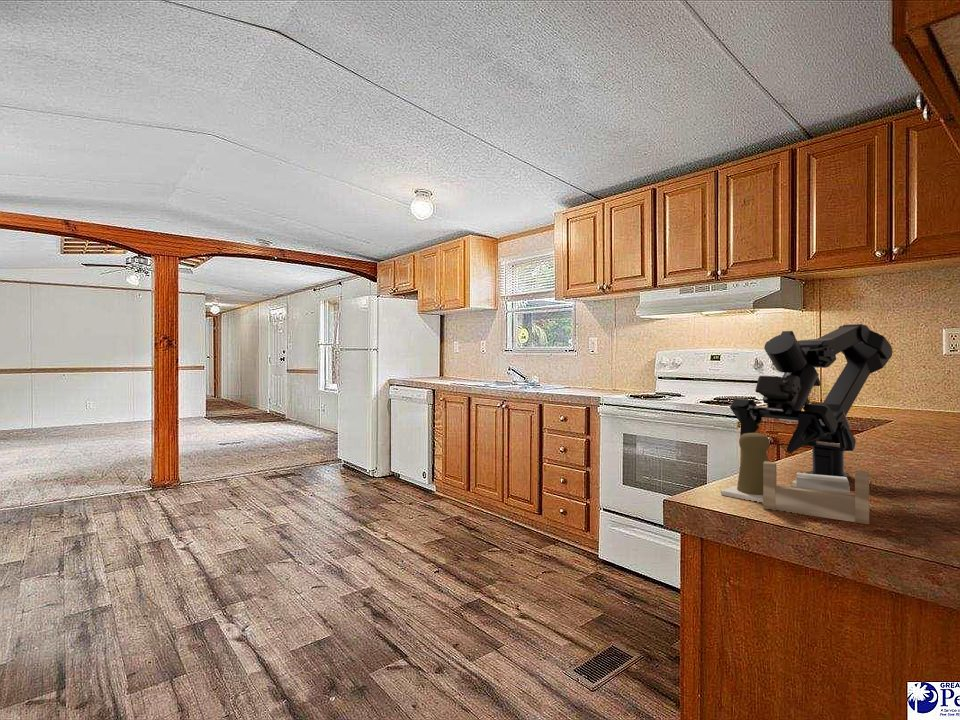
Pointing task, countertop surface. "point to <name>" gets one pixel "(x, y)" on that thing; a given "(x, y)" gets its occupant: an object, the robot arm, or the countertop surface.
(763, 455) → the cork
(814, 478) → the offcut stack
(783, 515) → the countertop surface
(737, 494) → the ceramic pad
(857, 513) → the birch rack
